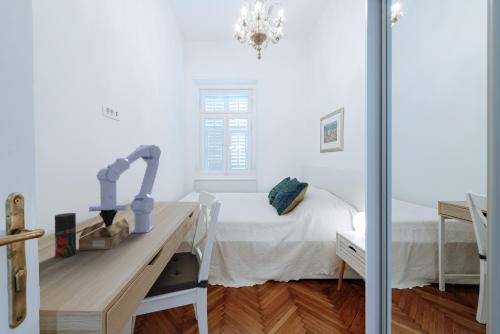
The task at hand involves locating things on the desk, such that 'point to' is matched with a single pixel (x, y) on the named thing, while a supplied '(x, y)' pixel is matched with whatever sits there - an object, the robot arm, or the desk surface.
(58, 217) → the deodorant
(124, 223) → the flap
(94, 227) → the flap
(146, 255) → the desk surface
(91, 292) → the desk surface
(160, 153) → the robot arm
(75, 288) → the desk surface
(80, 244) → the carton
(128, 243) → the desk surface
